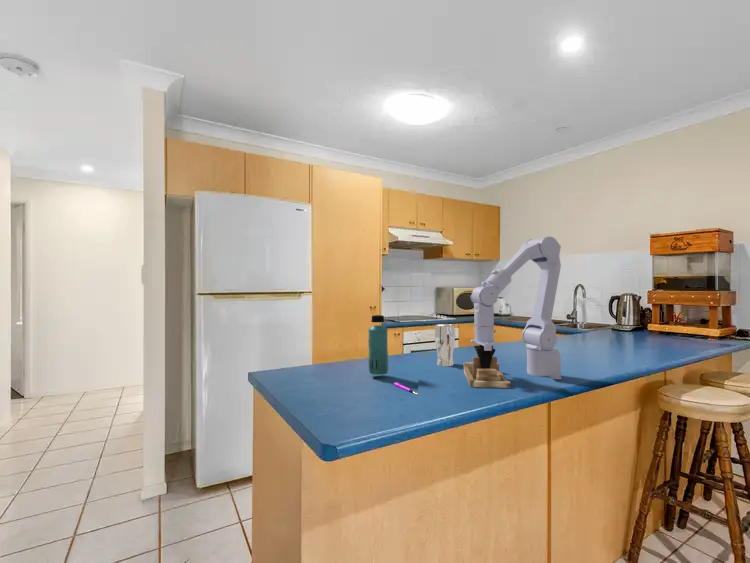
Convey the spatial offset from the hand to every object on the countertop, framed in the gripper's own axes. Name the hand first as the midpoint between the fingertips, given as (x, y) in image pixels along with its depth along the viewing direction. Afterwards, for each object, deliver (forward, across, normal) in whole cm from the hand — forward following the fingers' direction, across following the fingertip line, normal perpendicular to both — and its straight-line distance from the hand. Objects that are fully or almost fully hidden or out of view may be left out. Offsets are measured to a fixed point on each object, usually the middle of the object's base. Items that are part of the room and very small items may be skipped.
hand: (484, 370), depth 117 cm
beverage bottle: (+3, -2, -33) cm, 33 cm away
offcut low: (+2, +7, 0) cm, 7 cm away
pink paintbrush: (+4, +12, -22) cm, 25 cm away
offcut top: (0, +7, 0) cm, 7 cm away
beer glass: (+4, -18, -11) cm, 22 cm away
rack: (+3, +1, 0) cm, 4 cm away
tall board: (+2, 0, 0) cm, 2 cm away
